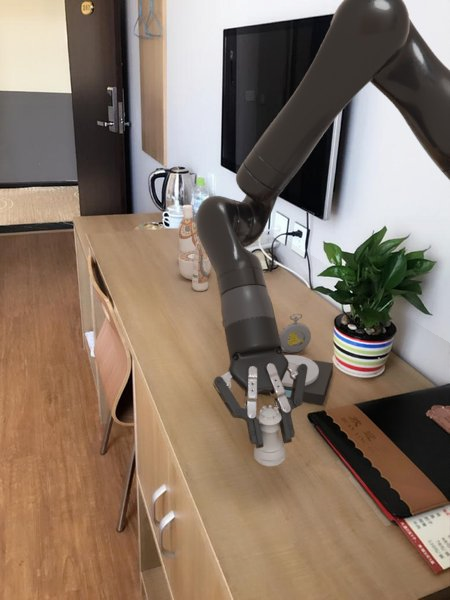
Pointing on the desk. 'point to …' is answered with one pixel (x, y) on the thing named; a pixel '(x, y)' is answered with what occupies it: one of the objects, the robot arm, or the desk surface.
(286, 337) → the pocket watch
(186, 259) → the cosmetic set
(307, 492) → the desk surface
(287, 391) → the scale
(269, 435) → the rook chess piece
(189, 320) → the desk surface
